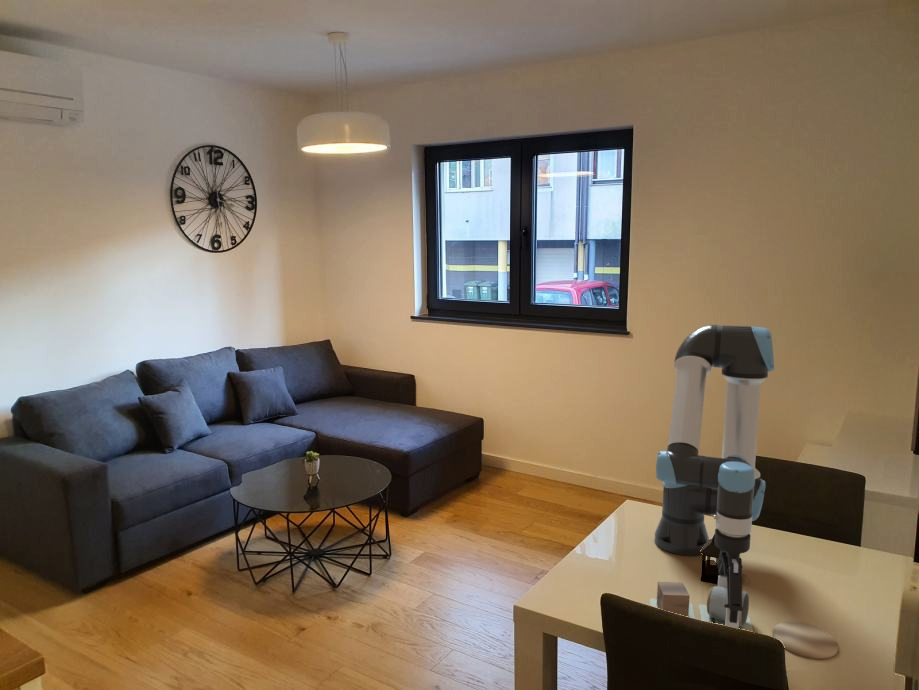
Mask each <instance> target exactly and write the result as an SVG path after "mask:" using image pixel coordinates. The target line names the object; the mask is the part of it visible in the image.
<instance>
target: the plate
mask: <svg viewBox="0 0 919 690" xmlns="http://www.w3.org/2000/svg"><path fill="white" fill-rule="evenodd" d="M649 605H651V606H654V607H657V608H658V606H657V598H651V597H650V598H649ZM688 617H692V618H695V619H696V617H695V613H694V607H693V603H692V602H689V615H688Z"/></svg>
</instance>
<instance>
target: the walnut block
mask: <svg viewBox="0 0 919 690" xmlns="http://www.w3.org/2000/svg"><path fill="white" fill-rule="evenodd" d="M656 591H657V592H656V599H657V606H658V608H660V609H663V610H666V611H670V612H673V613H677V614H681V615H684V616H688V615H689V603H690V593H689V592H688V590H687V587H686V586H685V584H684V582H681V581H680V582H679V581H678V582H677V581H657V589H656Z"/></svg>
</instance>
